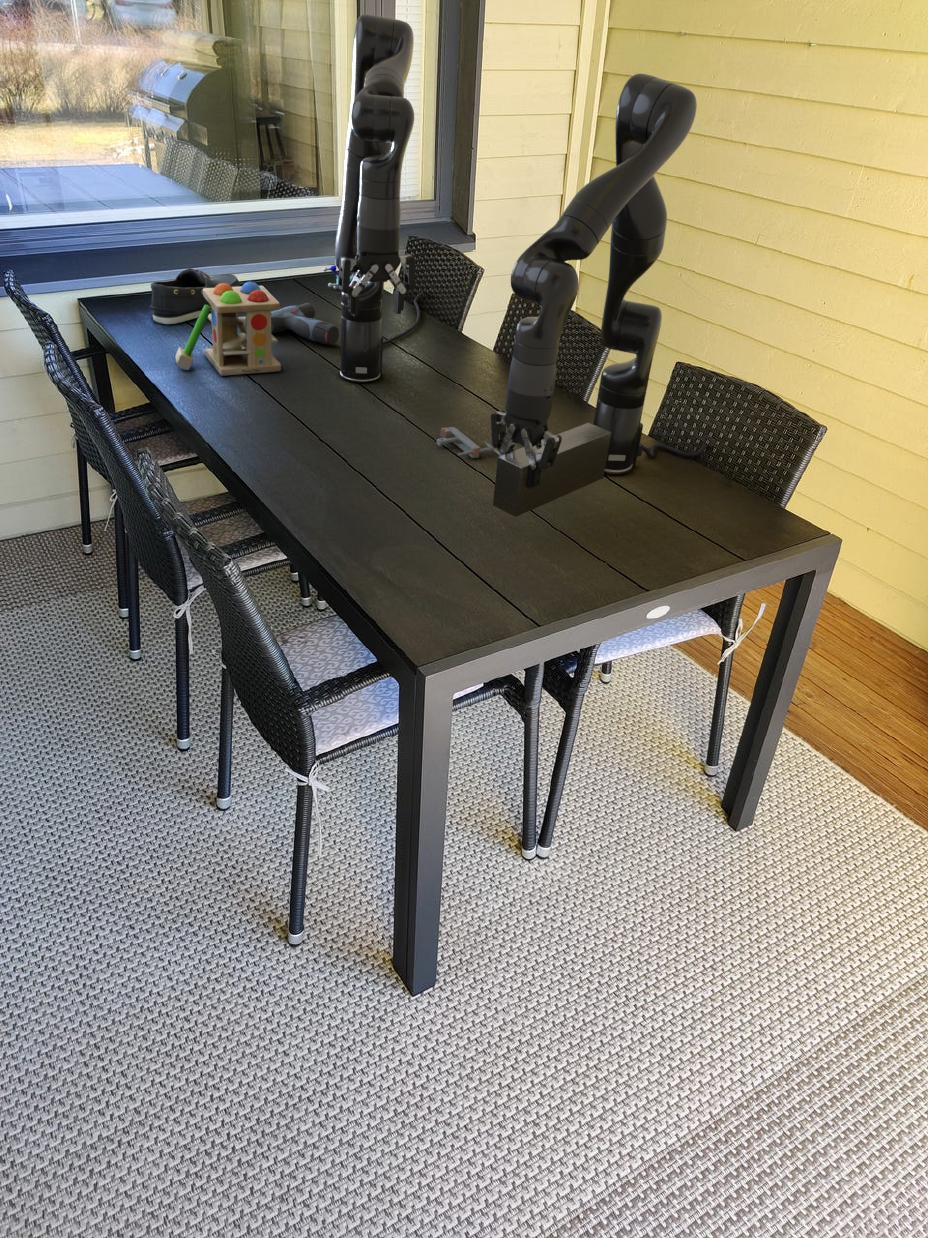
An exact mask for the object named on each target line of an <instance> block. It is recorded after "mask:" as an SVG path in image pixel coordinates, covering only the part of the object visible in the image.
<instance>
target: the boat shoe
mask: <svg viewBox="0 0 928 1238" xmlns="http://www.w3.org/2000/svg"><path fill="white" fill-rule="evenodd" d="M221 283H226V284H228V285H230V286H231V287H242V286H241V282H240V281H239V279H238V277H237V276H236V275H235V274H232V273H224V274H217V275H214V276H209V275H208V274H207V273H206V272H204V271H203V270H199V269H194V268H186V269H183V270H182V271H181V272H179V273H178V274H177V276H176V277H175V279H173V280H172V279H171V280H165V281H161V280H159V281H153V282H151V283H150V289H151V304H150V308H151V309H152V310H153V312H152V318H153V321H154V322H157V323H158V324H164V325H175V324H180V323H183V322H187V321H190V320H195V319H198V318H199V316H200V314H201V311H202V309H203V307H204V305H208V306H210V307H211V305H210V304H209V302H208V301H207V300H206V299H205V297H204V296H203V289H204V288H215V287H216V286H217V285H218V284H221ZM210 312H211V310H210Z"/></svg>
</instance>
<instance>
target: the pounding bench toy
mask: <svg viewBox="0 0 928 1238" xmlns="http://www.w3.org/2000/svg"><path fill="white" fill-rule="evenodd" d="M203 296H204V297H205V299H206V300H207V301H208V302H209V304H210V305H211V307H210V306H208V305H204V307H203V309H202V311H201V314H200V316H199V317H198V318H197V320H196V322H195V324H194V327H193V329H192V331H191V332H190V333H191V334H190V336H189V338H188V340H187V343H186V344H185V347H184V348H182V347H180V346H179V347H178V349H177V351H176V354H175V357H174V358H175V362H176V365H177V366H178V368H179V369H182V370H185V371H189V370H190V369H191V367H192V365H193V363H194V356H193V351H194V348H195V347H196V345H197V342H198V340H199V337H200V336H201V333H202V332H203V329H204V326H205V325H206V322H207V320H209V321H210V322H211V336H212V337H211V338H212V339H211V340H212V348H205V349H204V352H205V353H204V355H205V357H206V359H208V361H209V363H210V364H211V365H212V366H213V367H214V369H215V370H216V371H217V372H218V374H219V375H220V376H222V377H223V376H234V375H235V376H236V375H246V374H247V375H250V374H262V373H275V372H281V370H282V364H281V363H280V362H279V360H278V359H277V358H276V357H275V356H274V355H273V348H272V347H273V345H272V344H276V343H278V342H279V341H278V339H277V338H276V337H275V336H274V334H273V333H272V334H271V312H272V311H275V310H280V309H281V304H280V301H278V300H277V299H276V297H274V296H273V295H272V294H271V293H270V292H269V290H268V289H267V288H266V287H264V285H259V284H257V283H256V282H255V281H247V282H245V283H244V284H243V285H242V286H241V287H231V286H230V285H228V284H226V283H221V284H218V285H217V286H216V287H215V288H204V289H203ZM210 310H211V311H210ZM238 313H244V314H245V315H244V316H238ZM238 329H239V331H240V333H239V334H238Z"/></svg>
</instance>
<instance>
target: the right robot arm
mask: <svg viewBox="0 0 928 1238" xmlns="http://www.w3.org/2000/svg"><path fill="white" fill-rule="evenodd" d="M697 103H698V102H697V97H696V95H695V93H694V92H693V91H692V90H691V89H690V88H687V87H684V86H682V85H680V84H677V83H674V82H671V81H669V80H665V79H663V78H660V77H657V76H654V75H652V74H647V73H635V74H633V75H631V76H630V77H629V78H628V80H627V81H626V82H625V83H624V86H623V87H622V90H621V92H620V95H619V98H618V102H617V106H616V112H615V125H614V126H615V128H614V130H615V131H614V132H615V133H614V134H615V139H614V140H615V167H613V168H611V169H609V170H607V171H606V172H603V173H602V174H600V175H598V176H596V177H595V178H593V179H592V180H590V181H589V182H588V183H586V184H585V185H584V186H583V187H582V188H580V189H579V190H578V191H577V192H576V193H575V195H574V196H573V198H572V199H571V201H570V202H569V204H568V205H567V206H566V208H565V210H564V211H563V212H562V214H561V215H560V217H559V218H558V220H557V221H556V223H555V224H554V225H553V226H552V227H551V228H549V229H548V230H547V231H546V232H545V233H543V234H542V235H541V236H540V237H539V238H537V239H536V240H535V241H534V242H533V243H531V244H530V245H529V246H528V247H527V248H526V249H525V250H524V251H523V252H522V253H521V254H520V256H518V258H517V260H516V262H515V263H514V265H513V268H512V271H511V275H510V288H511V291H512V292H513V294H514V295H515V296H516V297H517V298H519V299H520V300H523V301H526V302H529V303H531V304H535V305H536V306H537V305H538V306H539V307H540V311H539V315H538V316H528V317H524V318H522V319H521V320H519V322H518V323H517V325H516V328H515V333H514V342H513V351H512V357H511V361H510V362H511V363H510V365H509V371H508V380H507V389H506V395H505V396H506V397H505V405H504V410H499V411H496V412H492V413H491V414H490V431H491V444H492V445H491V446H493V447H494V448H497V451H499V452H500V454H501V456H502V455H504V454H507V453H510V452H512V451H515V450H516V448H517V446H518V445H521V447H522V448H523V447H525V452H526V455H527V456H528V457H529V463H530V468H529V472H528V479H527V488H529V489H532V488H535V487H536V486H537V485H539V483H540V479H541V472H542V470H544V469H546V468H548V467H551V466H553V464H554V461H555V458H556V456H557V453H558V450H559V447H560V444H561V441H562V437H561V436H560V435H557V434H553V433H552V432H551V431H549V430H550V429H549V426H548V422H549V421H548V420H549V419H550V416H551V414H552V406H553V400H554V395H555V394H554V393H555V386H556V378H557V362H558V355H559V348H560V338H561V336H562V333H563V330H564V328H565V325H566V323H567V320H568V317H569V315H570V313H571V311H572V309H573V306H574V304H575V301H576V299H577V297H578V293H579V287H580V286H579V285H580V283H579V277H578V272H577V271H576V269H575V267H574V266H573V265H572V264H570V263H569V262H570V261H583V260H585V259H588V258H589V257H590V256H591V254H592V253H593V252H594V250H595V249H596V248H597V247H598V245H599V243H600V242H601V240H602V239H603V237H604V236H605V235H606V233H607V232H608V230H609V228H610V227H611V230H610V243H609V244H610V245H609V246H610V247H609V264H608V278H607V286H606V287H607V288H606V292H605V293H606V294H605V298H604V306H603V312H602V319H601V326H600V327H601V328H600V340H601V344H602V345H603V347H605V348H606V349H610V350H612V351H618V352H622V353H628V354H632V355H633V354H634V355H635V356H636V357H634V358H632V359H629V360H627V361H623V362H617V363H612V364H609V365H607V366H605V367H604V368H603V370H602V371H601V375H600V380H599V386H598V393H597V398H596V405H595V410H594V417H593V423H592V425H595V426H597V427H600V428H602V429H605V430H607V431H609V432H611V437H610V443H609V448H608V454H607V460H606V465H605V471H604V475H611V476H622V475H626V474H628V473H630V472H631V471H632V470H633V469H635V468H636V464H637V459H638V457H641V456H642V455H643V452H644V453H645V454H646V456H647V457H648V458H650V459H652V458H654V456H655V450H656V449H657V450H658V449H662V450H666V451H669V452H671V453H674V454H676V455H678V456H682V457H686V458H696V457H698V456H700V455H702V454H703V453H704V452H705V451H706V449H707V448H708V449H712V448H713V446H712V447H710V446H707V445H706V444H704V443H703V444H702V446H701V447H700V449H699V450H697V451H695V452H685V451H683V450H680V449H678V448H675V447H672V446H670V445H666V444H661V443H660V444H659V443H657V444H654V445H652V446H651V447H650V450H649V448H648V447H646V446H644V444H642V443H641V438H642V433H643V430H644V429H643V428H644V424H643V423H642V422H641V421H642V415H643V410H644V407H645V400H646V397H647V396H646V395H647V391H648V385H649V379H650V375H651V369H652V364H653V360H654V355H655V352H656V348H657V345H658V344H657V343H658V340H659V336H660V332H661V328H662V322H663V321H662V320H663V314H662V309H661V308H660V307H659V306H657V305H653V304H647V303H642V302H636V301H630V300H626V299H625V296H626V295H627V293H628V292H629V291H630V289H631V287H633V285H634V284H635V283H636V282H637V281H638V280H639V279H640V278H641V277H642V276H643V275H645V273H647V271H649V270H650V268H652V266H653V265H654V264H655V263H656V262H657V260H658V259H659V258H660V256H661V254H662V252H663V250H664V244H665V238H666V231H667V223H668V212H667V206H666V203H665V199H664V196H663V194H662V191H661V189H660V186H659V184H658V182H657V180H656V177H655V175H656V173H657V172H658V171H659V170H661V168H662V167H663V166H664V165H665V164H666V163H667V161H668V160H669V159H670V158H671V157H673V155H674V154H675V153H676V152H677V151H678V149H679V148H680V146H681V145H682V144H683V143H684V141H685V140H686V138H687V137H688V135H689V133H690V131H691V129H692V127H693V125H694V122H695V119H696V114H697V108H698V107H697V105H698V104H697ZM568 261H569V262H568ZM555 435H557V436H555ZM544 439H545V443H543V440H544ZM533 446H536V448H535V449H532V447H533ZM544 446H545V448H544ZM536 457H537V461H536Z"/></svg>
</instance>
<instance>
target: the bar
mask: <svg viewBox="0 0 928 1238" xmlns="http://www.w3.org/2000/svg"><path fill="white" fill-rule="evenodd" d="M554 435H555V436H557V435H560V436H561V437H562V441H561V444H560V447H559V450H558V453H557V456H556V458H555V461H554V464H553V466H551V467H548V468H546V469H544V470H542V472H541V479H540V483H539V485H537V486H536V487H535V488H532V489H529V488H527V479H528V472H529V468H530V463H529V457H528V456H527V455H526V452H525V447H523V446H522V447H521V448H518V449H514V451H512V452H510V453H507V454H504V455H502V456H500V455H498V457H497V461H496V462H497V463H496V473H495V480H494V481H495V482H494V489H493V499H492V506H493V507H495V508H497V509H499V510H501V511H502V512H505V513H507V514H509V515H511V516H513V517H515V518H517V517H519V516H522V515H524V514H526V513H529V512H531V511H532V510H534V509H537V508H540V507H541V506H544V505H546V504H548V503H550V502H553V501H555V500H557V499H559V498H562V497H564V496H566V495H568V494H571V493H573V492H575V491H577V490H580V489H582V488H585V487H587V486H589V485H591V484H593V483H596V482H598V481H601V480H602V479H604V475H605V474H604V471H605V465H606V460H607V454H608V448H609V443H610V437H611V432H609V431H607V430H605V429H602V428H600V427H597V426H595V425H593V423H590V422H586V423H583V424H581V425H579V426H576V427H573V428H571V429H568V430H566V431H563V432H560V433H557V434H554ZM543 443H545V439H544V438H543ZM535 448H536V446H533V447H532V449H535ZM544 448H545V446H544ZM536 461H537V457H536Z"/></svg>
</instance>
